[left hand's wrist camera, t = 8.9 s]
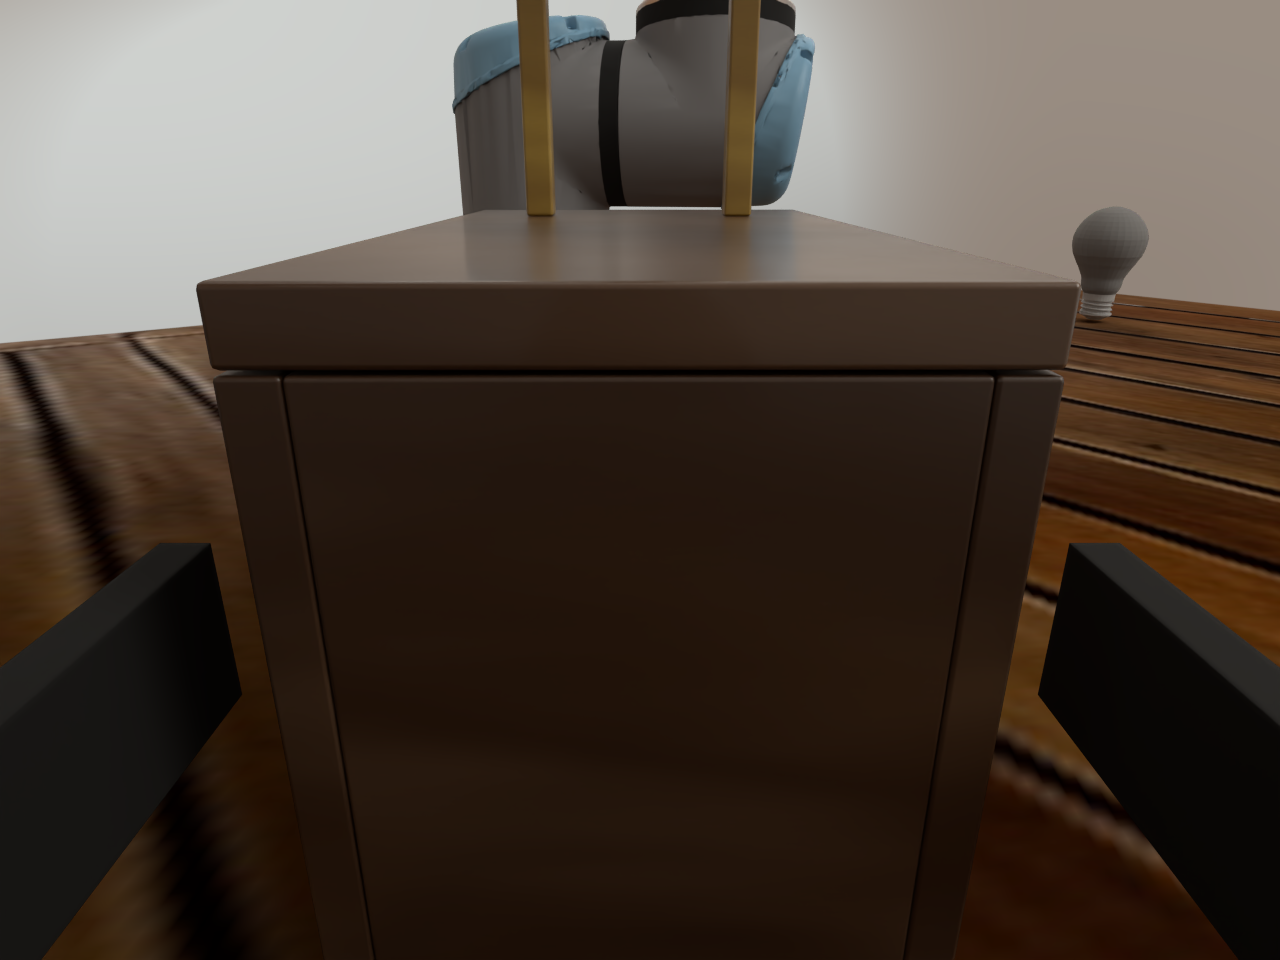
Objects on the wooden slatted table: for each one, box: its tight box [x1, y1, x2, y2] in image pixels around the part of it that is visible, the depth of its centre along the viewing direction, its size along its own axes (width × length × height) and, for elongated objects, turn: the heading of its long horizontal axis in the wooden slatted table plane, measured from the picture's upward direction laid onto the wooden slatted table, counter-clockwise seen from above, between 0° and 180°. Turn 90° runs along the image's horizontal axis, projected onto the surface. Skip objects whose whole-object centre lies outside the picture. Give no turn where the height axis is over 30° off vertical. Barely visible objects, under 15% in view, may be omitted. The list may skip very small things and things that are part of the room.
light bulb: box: [1072, 207, 1149, 320], centre depth 74 cm, size 6×6×10 cm
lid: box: [196, 0, 1081, 371], centre depth 15 cm, size 17×9×8 cm, turn 0°
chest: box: [213, 370, 1064, 960], centre depth 19 cm, size 17×9×11 cm, turn 0°
